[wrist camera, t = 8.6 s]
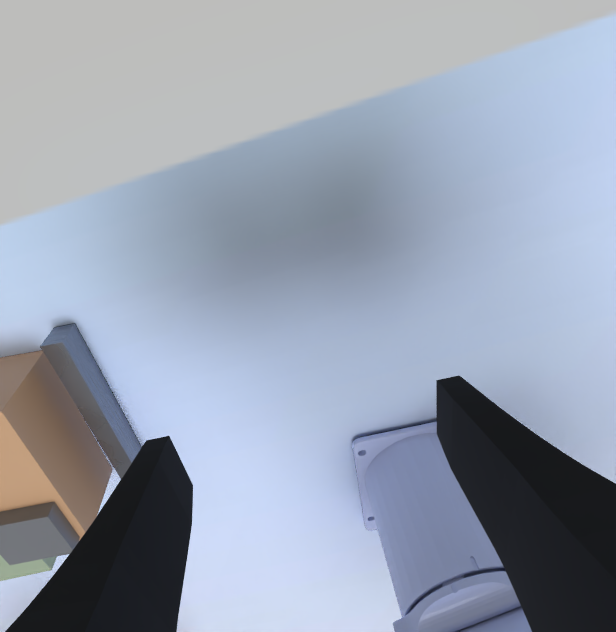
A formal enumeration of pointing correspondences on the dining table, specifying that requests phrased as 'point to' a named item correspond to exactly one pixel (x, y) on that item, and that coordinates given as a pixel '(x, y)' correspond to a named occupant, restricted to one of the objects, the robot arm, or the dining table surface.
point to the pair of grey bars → (91, 395)
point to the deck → (24, 568)
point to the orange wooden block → (44, 463)
